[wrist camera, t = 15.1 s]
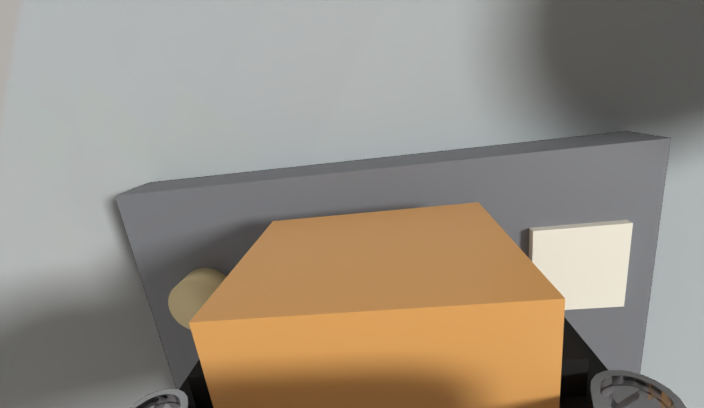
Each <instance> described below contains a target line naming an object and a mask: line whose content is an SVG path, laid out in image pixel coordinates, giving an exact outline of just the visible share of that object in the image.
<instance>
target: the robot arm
mask: <svg viewBox="0 0 704 408" xmlns="http://www.w3.org/2000/svg"><path fill="white" fill-rule="evenodd" d="M130 408H214V407H213V404H212V401H211V397H210V394H209V390H208V387H207V383H206V380H205V376H204V373H203V370H202V366H201V363H200V359H199V360H198V362H197V363H196V365H195V366H194V368H193V369H192V371H191V372H190V374H189V375H188V377H187V378H186V380H185V381H184V383H183V384H182V386H181V387H180V388H179V390H178V389H166V390H161V391H157V392H155V393H152V394H150V395H148V396H146V397H144V398H142V399H141V400H139V401H137V402H136V403H135V404H134V405H132V406H131V407H130ZM559 408H686V407H685V405H684V404H683V402H682V401H681V399H680V398H679V397H678V396H677V395H676V394H675V393H673V392H672V391H671V390H670V389H669V388H667V387H665V386H664V385H662V384H661V383H659V382H657V381H656V380H653V379H651V378H649V377H646V376H644V375H641V374H638V373H634V372H630V371H624V370H608V369H607V368H606V367H605V366H604V364H603V363H602V362H601V361H600V359H599V358H598V357H597V356H596V355H595V353H594V352H593V351H592V350H591V348H590V347H589V346H588V345H587V344H586V342H585V341H584V340H583V339H582V338H581V336H580V335H579V334H578V333H577V331H576V330H575V329H574V328H573V327H572V325H571V324H570V323H569V322H568V320H567V319H566V318H565V317H564V331H563V350H562V368H561V386H560V405H559Z"/></svg>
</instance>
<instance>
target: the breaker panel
mask: <svg viewBox="0 0 704 408" xmlns="http://www.w3.org/2000/svg"><path fill="white" fill-rule="evenodd" d="M670 141H671V138H667V137H661V136H654V135H648V134H642V133H635V132H629V131H624V132H615V133H606V134H596V135H587V136H578V137H568V138H559V139H550V140H540V141H531V142H522V143H512V144H503V145H494V146H485V147H475V148H466V149H457V150H447V151H438V152H429V153H419V154H410V155H401V156H391V157H382V158H373V159H363V160H354V161H345V162H336V163H326V164H317V165H308V166H298V167H289V168H280V169H270V170H261V171H252V172H242V173H233V174H224V175H214V176H205V177H196V178H187V179H177V180H168V181H159V182H149V183H147V184H144V185H142V186H139V187H137V188H134V189H131V190H129V191H126V192H124V193H121V194H119V195H116V196H115V198H116V202H117V205H118V208H119V211H120V214H121V217H122V220H123V223H124V227H125V230H126V233H127V236H128V239H129V242H130V245H131V248H132V251H133V255H134V258H135V261H136V264H137V267H138V270H139V273H140V276H141V279H142V283H143V286H144V289H145V292H146V295H147V298H148V301H149V304H150V307H151V311H152V314H153V317H154V320H155V323H156V326H157V329H158V332H159V335H160V339H161V342H162V345H163V348H164V351H165V354H166V357H167V360H168V364H169V367H170V370H171V373H172V376H173V379H174V382H175V385H176V388H177V389H178V390H179V388H180V387H181V386H182V384H183V383H184V381H185V380H186V378H187V377H188V375H189V374H190V372H191V371H192V369H193V368H194V366H195V365H196V363H197V362H198V360H199V356H198V352H197V349H196V345H195V342H194V339H193V335H192V332H191V328H190V325H189V322H190V320H191V319H192V318H193V317H194V316H195V314H196V313H197V312H198V311H199V310H200V308H201V307H202V306H203V305H204V304H205V302H206V301H207V300H208V299H209V298H210V296H211V295H212V294H213V293H214V292H215V290H216V289H217V288H218V287H219V285H220V284H221V283H222V282H223V281H224V279H225V278H226V277H227V276H228V275H229V273H230V272H231V271H232V270H233V269H234V267H235V266H236V265H237V264H238V263H239V261H240V260H241V259H242V258H243V257H244V255H245V254H246V253H247V252H248V251H249V249H250V248H251V247H252V246H253V244H254V243H255V242H256V241H257V240H258V238H259V237H260V236H261V235H262V234H263V232H264V231H265V230H266V229H267V228H268V226H269V225H270V224H271V223H272V222H273V221H280V220H291V219H302V218H312V217H323V216H334V215H345V214H356V213H367V212H377V211H388V210H399V209H410V208H421V207H432V206H443V205H453V204H464V203H475V202H479V203H480V204H481V206H482V207H483V208H484V209H485V210H486V211H487V212H488V213H489V214H490V216H491V217H492V218H493V219H494V220H495V221H496V222H497V223H498V224H499V226H500V227H501V228H502V229H503V230H504V231H505V232H506V233H507V234H508V236H509V237H510V238H511V239H512V240H513V241H514V242H515V243H516V244H517V246H518V247H519V248H520V249H521V250H522V251H523V252H524V253H525V254H526V256H527V257H528V258H529V259H530V260H531V261H532V262H533V263H534V264H535V266H536V267H537V268H538V269H539V270H540V271H541V272H542V273H543V274H544V276H545V277H546V278H547V279H548V280H549V281H550V282H551V283H552V284H553V286H554V287H555V288H556V289H557V290H558V291H559V292H560V293H561V294H562V296H563V297H564V298H565V313H564V317H565V318H566V319H567V320H568V322H569V323H570V324H571V325H572V327H573V328H574V329H575V330H576V331H577V333H578V334H579V335H580V336H581V338H582V339H583V340H584V341H585V342H586V344H587V345H588V346H589V347H590V348H591V350H592V351H593V352H594V353H595V355H596V356H597V357H598V358H599V359H600V361H601V362H602V363H603V364H604V366H605V367H606V368H607V369H608V370H624V371H630V372H634V373H638V374H640V370H641V362H642V355H643V347H644V339H645V332H646V324H647V316H648V309H649V301H650V293H651V286H652V278H653V270H654V263H655V255H656V248H657V240H658V232H659V225H660V217H661V209H662V202H663V194H664V186H665V179H666V171H667V163H668V156H669V148H670Z"/></svg>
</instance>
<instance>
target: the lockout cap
mask: <svg viewBox="0 0 704 408" xmlns="http://www.w3.org/2000/svg"><path fill="white" fill-rule="evenodd" d="M564 313H565V298H564V297H563V296H562V294H561V293H560V292H559V291H558V290H557V289H556V288H555V287H554V286H553V284H552V283H551V282H550V281H549V280H548V279H547V278H546V277H545V276H544V274H543V273H542V272H541V271H540V270H539V269H538V268H537V267H536V266H535V264H534V263H533V262H532V261H531V260H530V259H529V258H528V257H527V256H526V254H525V253H524V252H523V251H522V250H521V249H520V248H519V247H518V246H517V244H516V243H515V242H514V241H513V240H512V239H511V238H510V237H509V236H508V234H507V233H506V232H505V231H504V230H503V229H502V228H501V227H500V226H499V224H498V223H497V222H496V221H495V220H494V219H493V218H492V217H491V216H490V214H489V213H488V212H487V211H486V210H485V209H484V208H483V207H482V206H481V204H480V203H479V202H475V203H464V204H453V205H443V206H432V207H421V208H410V209H399V210H388V211H377V212H367V213H356V214H345V215H334V216H323V217H312V218H302V219H291V220H280V221H273V222H272V223H271V224H270V225H269V226H268V228H267V229H266V230H265V231H264V232H263V234H262V235H261V236H260V237H259V238H258V240H257V241H256V242H255V243H254V244H253V246H252V247H251V248H250V249H249V251H248V252H247V253H246V254H245V255H244V257H243V258H242V259H241V260H240V261H239V263H238V264H237V265H236V266H235V267H234V269H233V270H232V271H231V272H230V273H229V275H228V276H227V277H226V278H225V279H224V281H223V282H222V283H221V284H220V285H219V287H218V288H217V289H216V290H215V292H214V293H213V294H212V295H211V296H210V298H209V299H208V300H207V301H206V302H205V304H204V305H203V306H202V307H201V308H200V310H199V311H198V312H197V313H196V314H195V316H194V317H193V318H192V319H191V320H190V322H189V325H190V328H191V332H192V335H193V339H194V342H195V345H196V349H197V352H198V356H199V359H200V363H201V366H202V370H203V373H204V376H205V380H206V383H207V387H208V390H209V394H210V397H211V401H212V404H213V407H214V408H559V405H560V386H561V368H562V350H563V331H564Z"/></svg>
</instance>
